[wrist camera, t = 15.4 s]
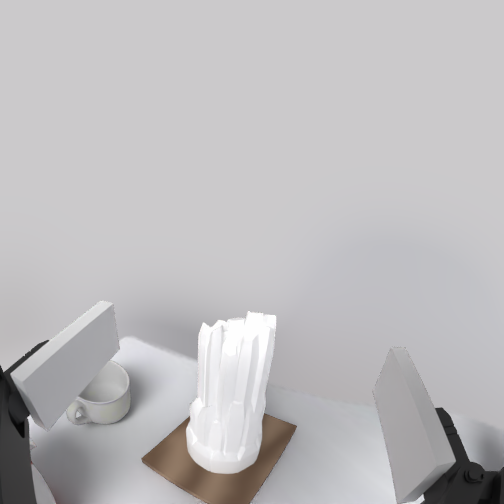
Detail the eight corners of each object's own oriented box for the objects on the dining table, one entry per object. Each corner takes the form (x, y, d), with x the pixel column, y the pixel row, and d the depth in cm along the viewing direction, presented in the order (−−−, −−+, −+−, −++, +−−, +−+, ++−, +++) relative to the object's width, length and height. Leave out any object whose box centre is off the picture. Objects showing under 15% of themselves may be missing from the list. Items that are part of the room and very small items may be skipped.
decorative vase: (173, 445, 34) (162, 303, 27) (218, 411, 43) (230, 277, 36) (230, 486, 29) (253, 352, 22) (272, 443, 37) (309, 307, 30)
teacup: (104, 381, 46) (97, 348, 43) (147, 407, 42) (142, 375, 40) (54, 418, 33) (39, 386, 31) (97, 454, 30) (83, 424, 27)
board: (295, 430, 42) (296, 426, 41) (238, 518, 24) (239, 516, 24) (215, 395, 48) (215, 391, 48) (142, 462, 31) (141, 458, 31)
